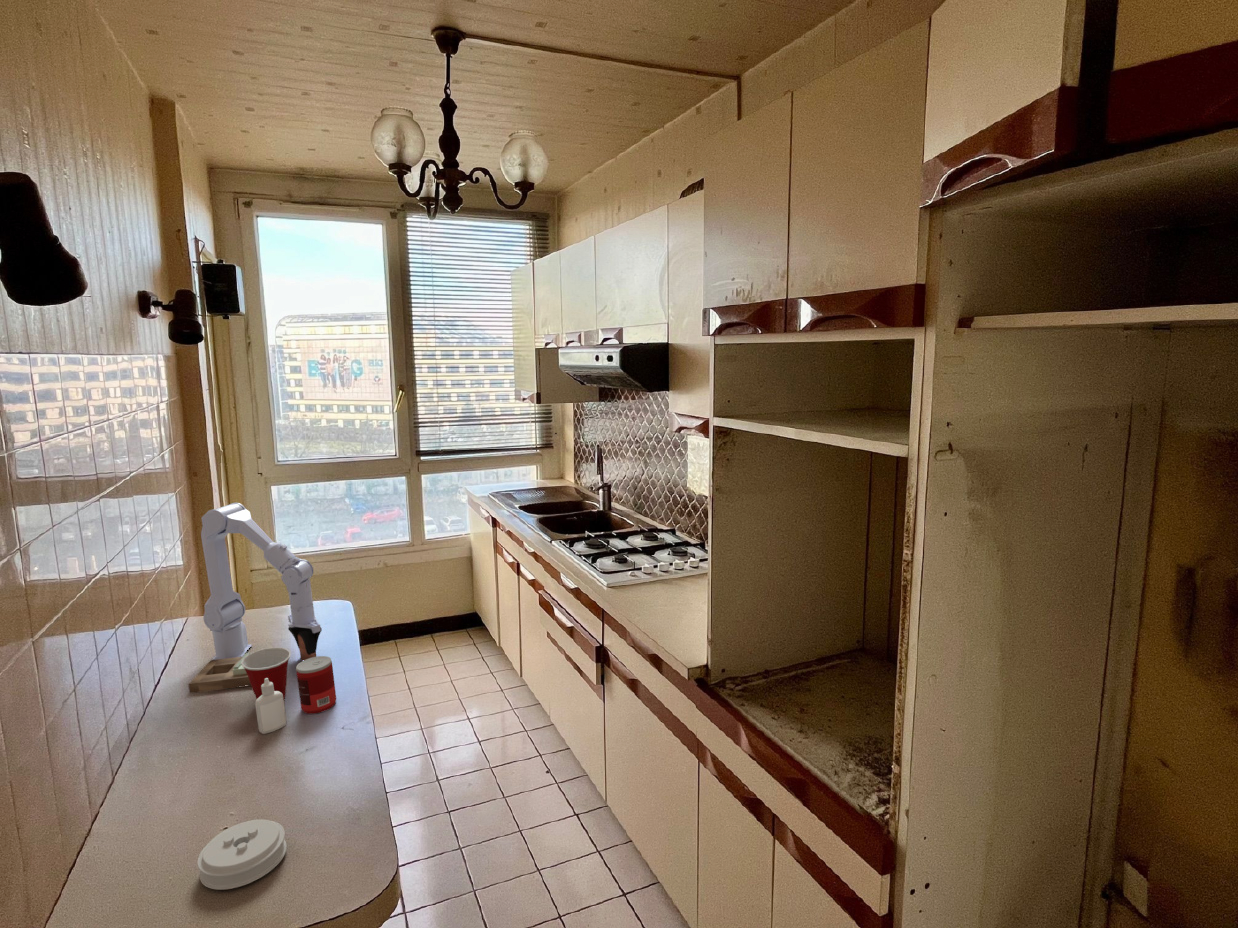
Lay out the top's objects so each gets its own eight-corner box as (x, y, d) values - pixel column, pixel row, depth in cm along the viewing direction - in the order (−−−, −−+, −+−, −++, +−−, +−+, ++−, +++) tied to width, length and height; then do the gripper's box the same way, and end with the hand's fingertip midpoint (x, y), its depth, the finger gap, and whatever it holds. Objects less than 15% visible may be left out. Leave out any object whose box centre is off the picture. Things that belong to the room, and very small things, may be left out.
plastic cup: (260, 718, 161) (253, 670, 159) (239, 705, 167) (232, 659, 165) (305, 698, 169) (299, 652, 167) (283, 687, 176) (277, 643, 174)
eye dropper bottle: (285, 729, 155) (279, 680, 153) (258, 735, 153) (250, 685, 151) (287, 720, 159) (281, 671, 157) (260, 726, 157) (253, 677, 155)
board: (212, 668, 189) (210, 660, 188) (282, 660, 192) (280, 652, 191) (189, 692, 175) (188, 683, 175) (265, 684, 178) (264, 674, 178)
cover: (247, 658, 188) (246, 652, 188) (282, 654, 190) (281, 648, 189) (233, 675, 178) (232, 668, 178) (270, 670, 180) (269, 664, 179)
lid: (300, 835, 120) (296, 809, 119) (265, 891, 108) (261, 863, 107) (226, 840, 120) (222, 814, 119) (183, 897, 107) (178, 869, 107)
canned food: (342, 697, 169) (337, 655, 167) (325, 714, 161) (320, 670, 159) (313, 697, 170) (307, 655, 168) (294, 714, 162) (288, 670, 160)
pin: (303, 655, 194) (299, 632, 193) (318, 653, 195) (315, 630, 194) (299, 661, 191) (295, 637, 189) (314, 659, 191) (311, 636, 190)
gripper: (275, 604, 192) (281, 650, 194) (300, 614, 183) (306, 662, 185) (300, 596, 197) (305, 641, 199) (325, 606, 188) (331, 653, 190)
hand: (307, 651), depth 193 cm, fingers closed on pin, 4 cm apart
